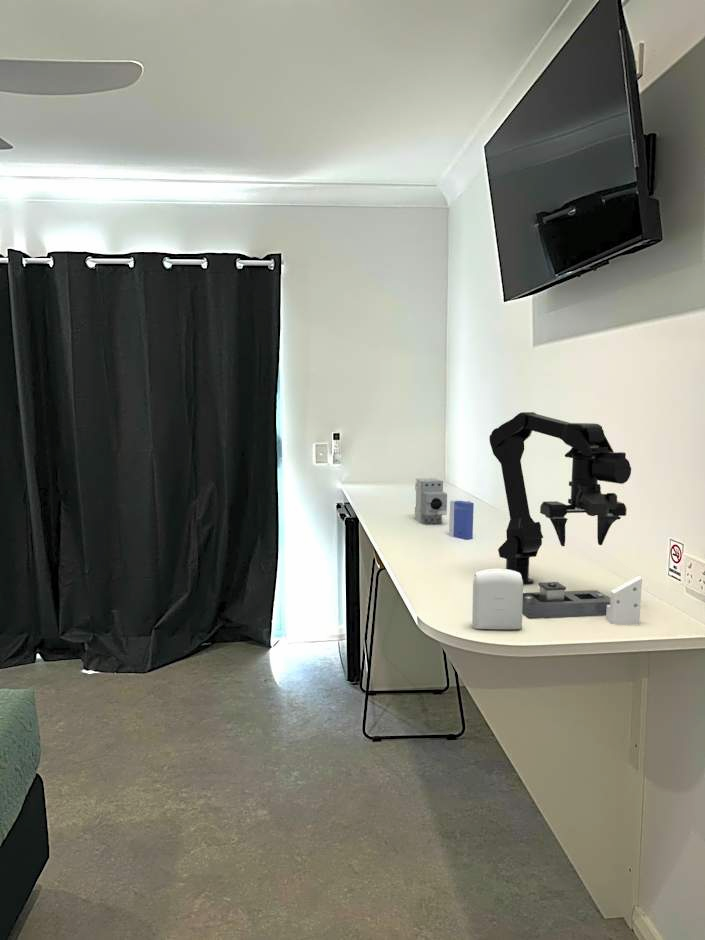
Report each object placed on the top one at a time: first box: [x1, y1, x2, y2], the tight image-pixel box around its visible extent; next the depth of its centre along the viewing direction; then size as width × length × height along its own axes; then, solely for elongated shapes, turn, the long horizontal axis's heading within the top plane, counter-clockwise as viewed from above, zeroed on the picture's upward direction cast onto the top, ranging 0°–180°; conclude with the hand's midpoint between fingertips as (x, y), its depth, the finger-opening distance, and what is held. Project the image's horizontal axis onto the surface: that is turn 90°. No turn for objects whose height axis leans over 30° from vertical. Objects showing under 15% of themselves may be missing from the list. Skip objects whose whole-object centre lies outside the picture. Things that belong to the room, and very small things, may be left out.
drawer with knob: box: [538, 581, 567, 602], centre depth 168 cm, size 4×4×6 cm
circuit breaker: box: [414, 477, 448, 525], centre depth 269 cm, size 8×14×15 cm, turn 14°
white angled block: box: [605, 575, 643, 625], centre depth 161 cm, size 4×10×9 cm, turn 92°
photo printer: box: [471, 568, 524, 630], centre depth 156 cm, size 10×4×12 cm, turn 88°
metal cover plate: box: [522, 589, 610, 620], centre depth 169 cm, size 9×20×3 cm, turn 100°
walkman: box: [448, 499, 474, 541], centre depth 245 cm, size 8×3×12 cm, turn 39°
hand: (581, 545), depth 175 cm, fingers open, 9 cm apart
